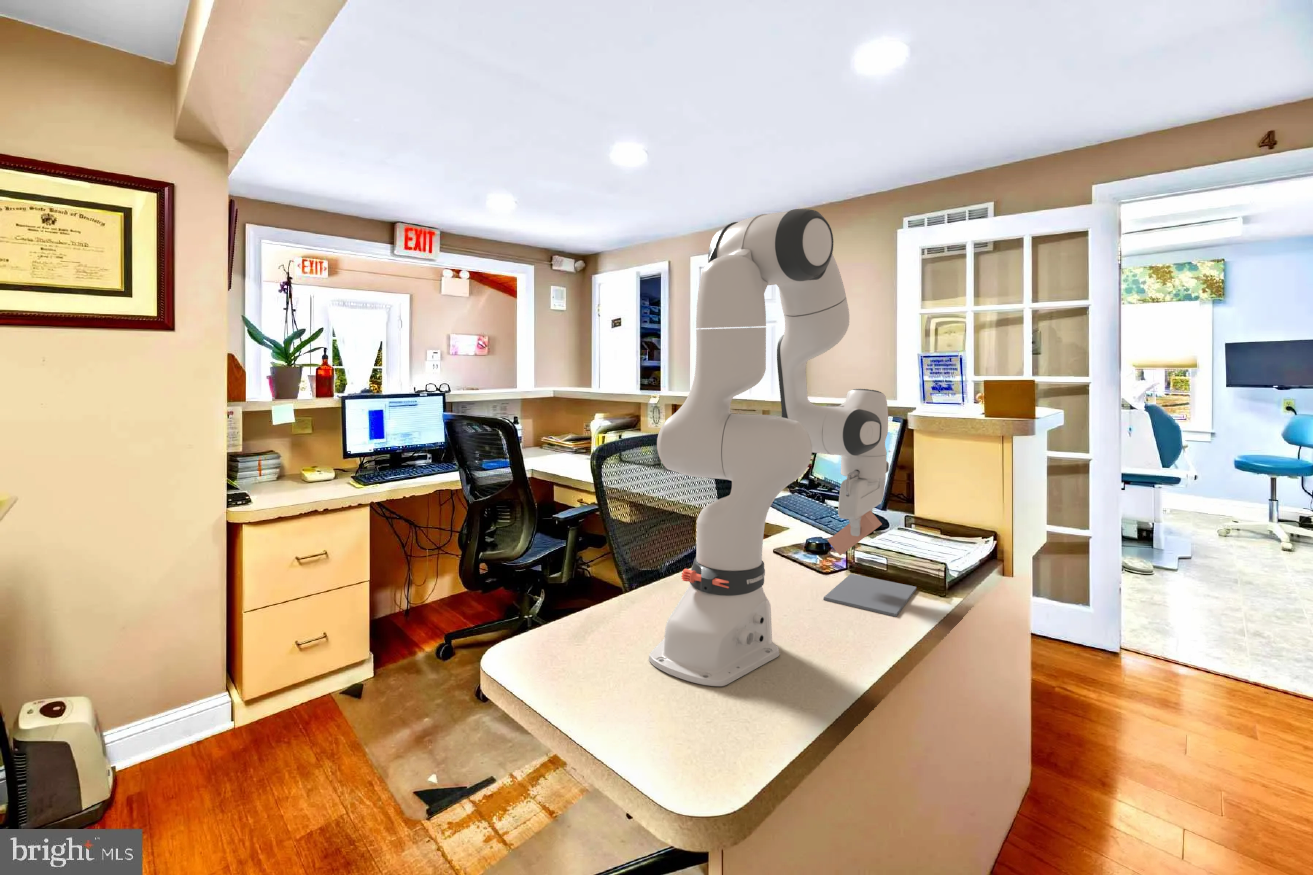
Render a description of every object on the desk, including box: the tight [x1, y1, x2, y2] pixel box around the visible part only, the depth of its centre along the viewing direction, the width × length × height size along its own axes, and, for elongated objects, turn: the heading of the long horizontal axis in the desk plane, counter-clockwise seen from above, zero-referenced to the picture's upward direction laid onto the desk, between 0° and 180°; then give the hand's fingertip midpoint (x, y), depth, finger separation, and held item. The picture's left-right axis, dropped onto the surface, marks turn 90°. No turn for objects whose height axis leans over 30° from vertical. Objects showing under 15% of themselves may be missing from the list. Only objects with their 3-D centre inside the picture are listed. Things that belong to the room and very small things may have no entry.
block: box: [827, 511, 883, 556], centre depth 120 cm, size 4×4×10 cm
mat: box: [823, 573, 917, 618], centre depth 119 cm, size 18×14×1 cm
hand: (860, 532), depth 120 cm, fingers closed on block, 4 cm apart
